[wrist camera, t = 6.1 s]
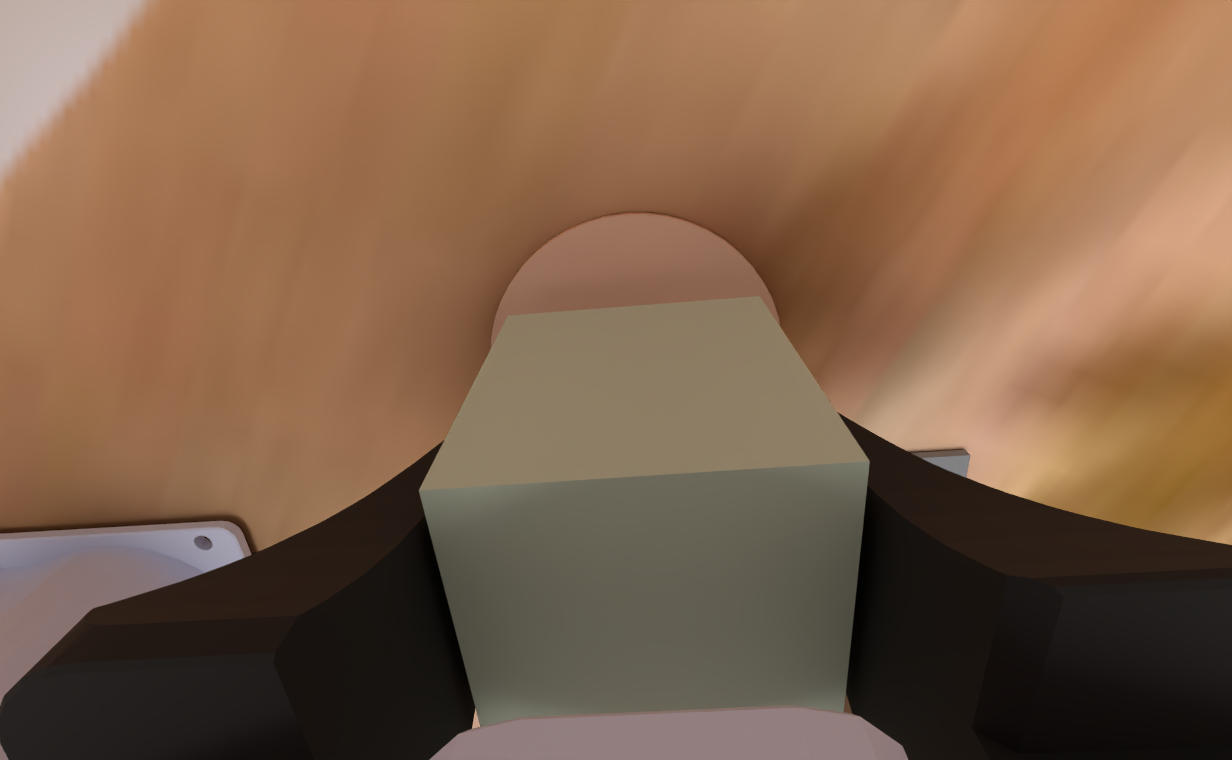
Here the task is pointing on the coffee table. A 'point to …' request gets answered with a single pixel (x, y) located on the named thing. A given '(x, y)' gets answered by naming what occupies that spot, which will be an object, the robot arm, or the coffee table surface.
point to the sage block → (648, 516)
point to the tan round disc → (630, 268)
